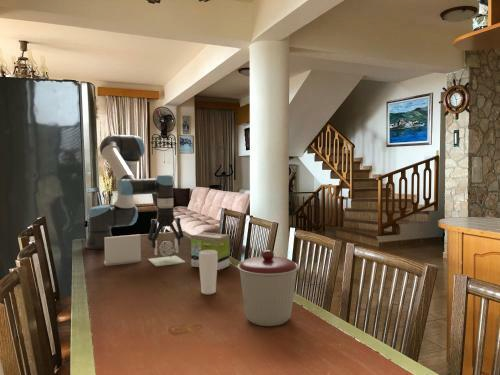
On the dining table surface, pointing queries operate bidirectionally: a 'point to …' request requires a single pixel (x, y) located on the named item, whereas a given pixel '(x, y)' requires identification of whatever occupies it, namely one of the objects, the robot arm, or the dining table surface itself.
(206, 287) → the drinking glass
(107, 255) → the screen
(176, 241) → the robot arm
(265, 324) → the canister
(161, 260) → the tile
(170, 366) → the dining table surface
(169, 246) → the game die
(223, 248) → the tea box
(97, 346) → the dining table surface
